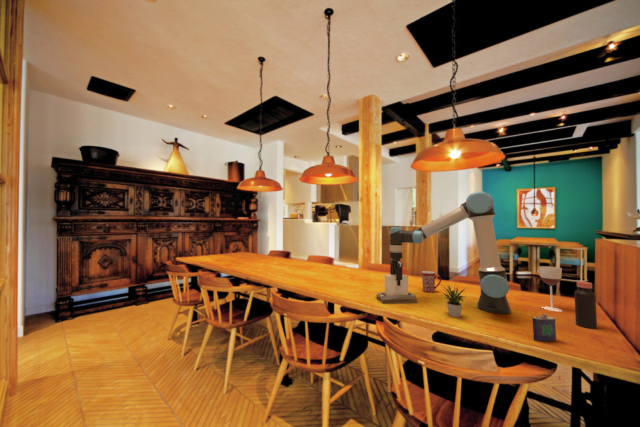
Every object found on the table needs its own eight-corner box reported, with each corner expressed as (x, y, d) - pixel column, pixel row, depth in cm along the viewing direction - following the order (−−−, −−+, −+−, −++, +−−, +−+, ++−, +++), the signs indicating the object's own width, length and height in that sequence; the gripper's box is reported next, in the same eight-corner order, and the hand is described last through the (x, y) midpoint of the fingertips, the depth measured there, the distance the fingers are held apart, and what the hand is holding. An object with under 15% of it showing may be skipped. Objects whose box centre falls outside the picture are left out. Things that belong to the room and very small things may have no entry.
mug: (421, 292, 171) (421, 272, 172) (421, 289, 180) (421, 270, 180) (441, 294, 166) (441, 274, 167) (441, 291, 174) (440, 272, 175)
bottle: (599, 327, 113) (597, 283, 114) (594, 330, 110) (592, 284, 111) (578, 322, 119) (576, 280, 120) (573, 324, 116) (571, 281, 117)
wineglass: (567, 310, 136) (565, 268, 137) (556, 312, 132) (555, 269, 134) (547, 305, 145) (545, 265, 146) (536, 307, 141) (535, 266, 142)
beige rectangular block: (387, 296, 149) (387, 276, 150) (384, 294, 154) (384, 274, 155) (408, 295, 151) (408, 276, 151) (404, 293, 156) (404, 274, 156)
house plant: (432, 314, 128) (431, 283, 128) (441, 308, 137) (441, 279, 138) (463, 322, 118) (462, 288, 118) (470, 315, 127) (470, 283, 128)
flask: (551, 338, 102) (550, 312, 102) (559, 341, 99) (558, 314, 99) (531, 339, 101) (530, 312, 101) (538, 342, 98) (537, 315, 99)
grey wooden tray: (417, 302, 148) (417, 296, 148) (383, 303, 145) (383, 297, 145) (408, 297, 160) (408, 291, 160) (376, 297, 157) (376, 291, 157)
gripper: (408, 253, 145) (408, 293, 144) (395, 250, 163) (395, 285, 162) (396, 253, 144) (396, 293, 143) (384, 250, 162) (384, 286, 161)
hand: (396, 289), depth 153 cm, fingers closed on beige rectangular block, 5 cm apart
